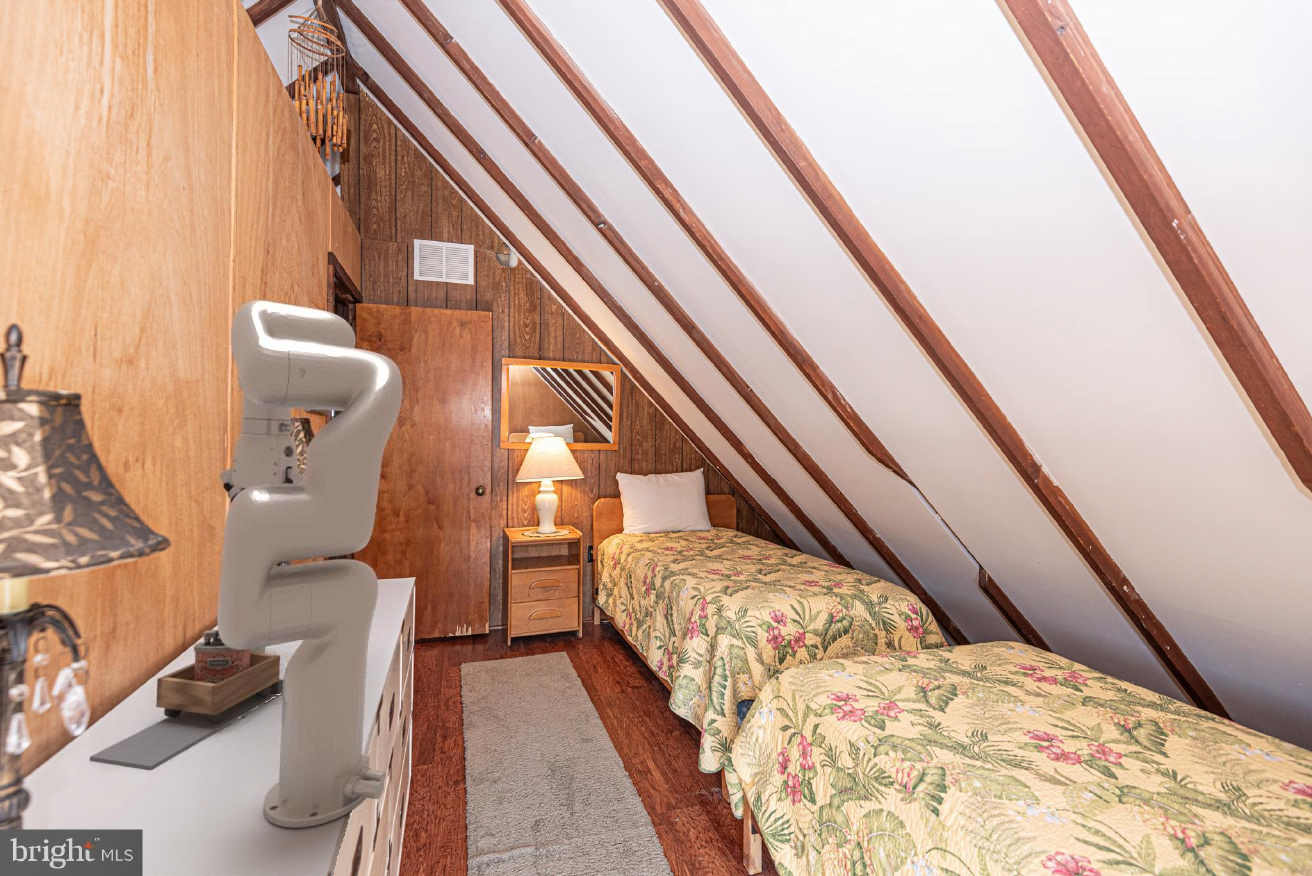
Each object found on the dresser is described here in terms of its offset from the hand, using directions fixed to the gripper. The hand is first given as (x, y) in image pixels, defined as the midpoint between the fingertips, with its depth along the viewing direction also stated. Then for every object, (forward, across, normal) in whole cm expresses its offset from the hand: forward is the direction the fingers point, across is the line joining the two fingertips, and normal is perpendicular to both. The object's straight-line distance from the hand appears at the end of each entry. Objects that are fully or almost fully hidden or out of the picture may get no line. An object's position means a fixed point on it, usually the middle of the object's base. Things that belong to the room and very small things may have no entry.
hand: (262, 520), depth 106 cm
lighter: (+26, -3, +10) cm, 29 cm away
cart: (+30, -3, +10) cm, 32 cm away
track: (+30, -3, +15) cm, 34 cm away
